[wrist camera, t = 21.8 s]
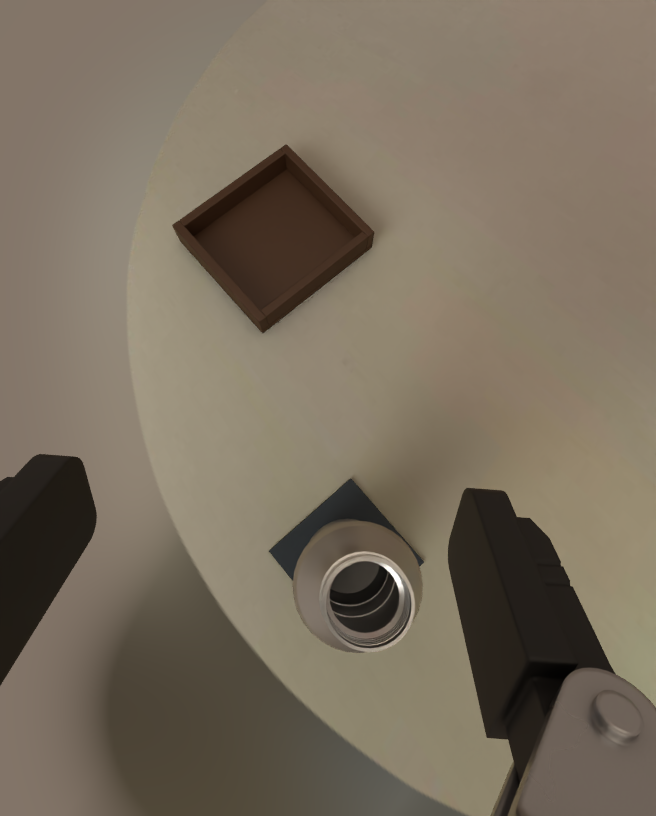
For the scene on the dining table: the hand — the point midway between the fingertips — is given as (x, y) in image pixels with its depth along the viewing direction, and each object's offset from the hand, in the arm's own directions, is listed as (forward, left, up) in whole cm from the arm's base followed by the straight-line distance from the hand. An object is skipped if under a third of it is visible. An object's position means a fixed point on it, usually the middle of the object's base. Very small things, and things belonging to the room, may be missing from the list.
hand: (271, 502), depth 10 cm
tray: (+14, +21, -30) cm, 39 cm away
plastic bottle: (0, -5, -30) cm, 30 cm away
